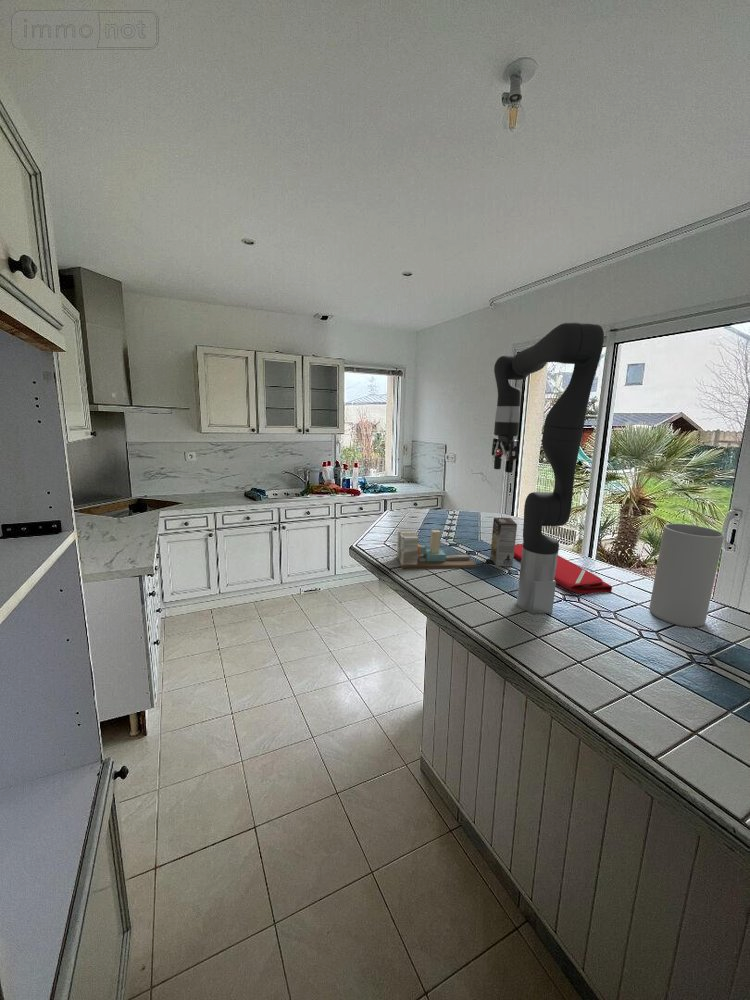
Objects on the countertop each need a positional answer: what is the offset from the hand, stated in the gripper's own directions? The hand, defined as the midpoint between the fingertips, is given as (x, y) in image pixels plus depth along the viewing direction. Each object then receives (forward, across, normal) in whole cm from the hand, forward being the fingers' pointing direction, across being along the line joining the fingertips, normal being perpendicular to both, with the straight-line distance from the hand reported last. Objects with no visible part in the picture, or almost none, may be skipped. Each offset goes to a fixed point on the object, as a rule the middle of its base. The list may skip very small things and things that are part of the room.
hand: (502, 470), depth 133 cm
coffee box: (+36, +9, -7) cm, 37 cm away
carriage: (+34, +10, +20) cm, 41 cm away
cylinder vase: (+36, -35, -37) cm, 63 cm away
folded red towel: (+36, +1, -22) cm, 43 cm away
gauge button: (+32, +10, +27) cm, 43 cm away
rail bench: (+35, +10, +18) cm, 41 cm away
